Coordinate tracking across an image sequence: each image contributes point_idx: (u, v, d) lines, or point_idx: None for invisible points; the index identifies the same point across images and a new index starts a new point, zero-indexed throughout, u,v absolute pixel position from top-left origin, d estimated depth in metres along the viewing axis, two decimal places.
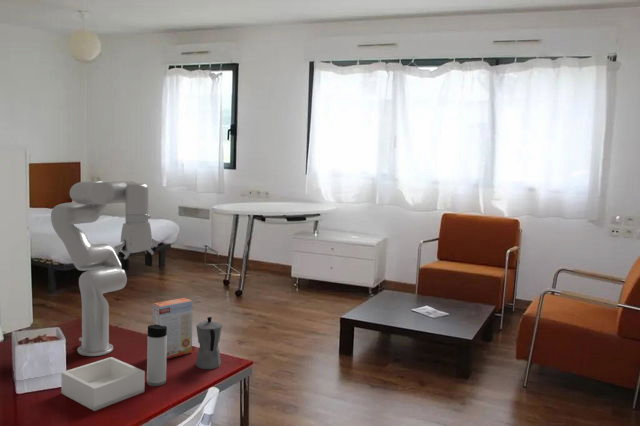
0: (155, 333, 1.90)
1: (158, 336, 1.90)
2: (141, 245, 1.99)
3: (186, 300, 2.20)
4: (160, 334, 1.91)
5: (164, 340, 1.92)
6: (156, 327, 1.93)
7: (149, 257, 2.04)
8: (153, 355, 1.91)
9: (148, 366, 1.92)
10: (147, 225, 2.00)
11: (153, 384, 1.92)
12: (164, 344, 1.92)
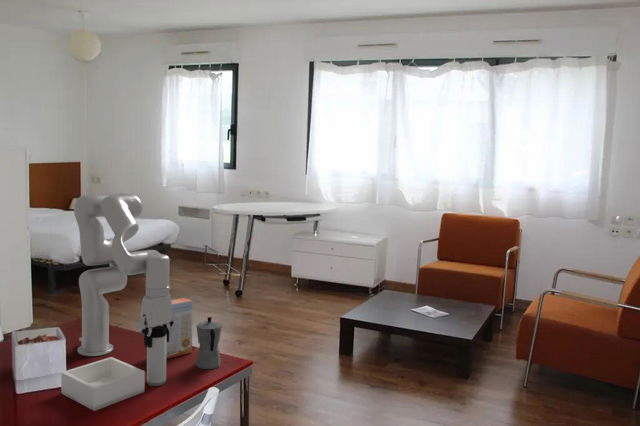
0: (155, 333, 1.90)
1: (158, 336, 1.90)
2: (161, 318, 1.91)
3: (186, 300, 2.20)
4: (160, 335, 1.91)
5: (164, 340, 1.92)
6: (156, 327, 1.93)
7: (166, 333, 1.95)
8: (153, 355, 1.91)
9: (148, 366, 1.92)
10: (168, 298, 1.92)
11: (153, 384, 1.92)
12: (164, 344, 1.92)
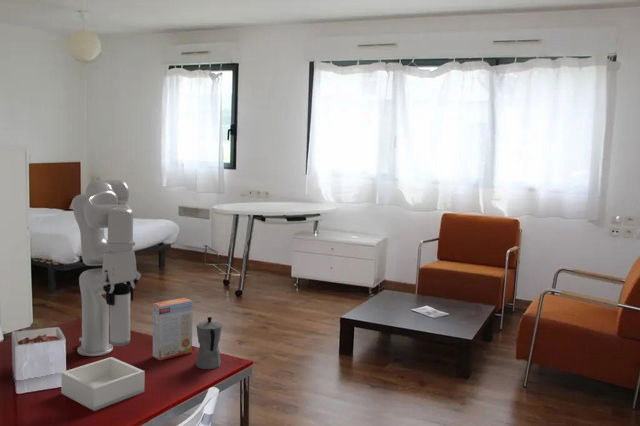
0: (117, 291, 1.81)
1: (121, 294, 1.82)
2: (124, 275, 1.82)
3: (186, 300, 2.20)
4: (123, 292, 1.82)
5: (127, 298, 1.83)
6: (119, 284, 1.84)
7: (130, 291, 1.86)
8: (115, 313, 1.82)
9: (111, 325, 1.84)
10: (131, 253, 1.84)
11: (116, 344, 1.84)
12: (127, 302, 1.84)
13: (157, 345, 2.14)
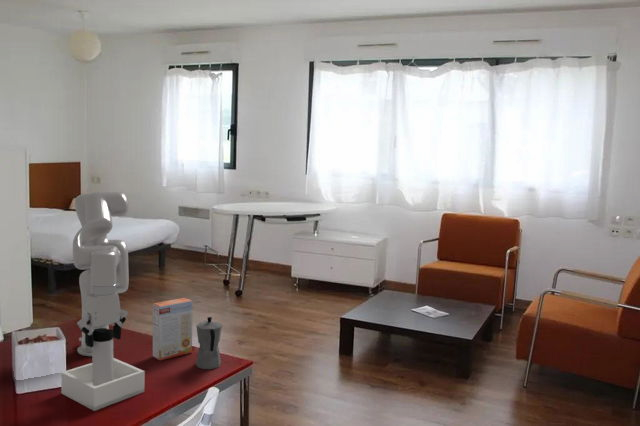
0: (99, 337, 1.80)
1: (103, 340, 1.81)
2: (108, 318, 1.81)
3: (186, 300, 2.20)
4: (106, 339, 1.81)
5: (110, 344, 1.82)
6: (102, 331, 1.84)
7: (117, 329, 1.86)
8: (98, 360, 1.81)
9: (93, 372, 1.83)
10: (115, 296, 1.83)
11: None
12: (110, 348, 1.83)
13: (157, 345, 2.14)
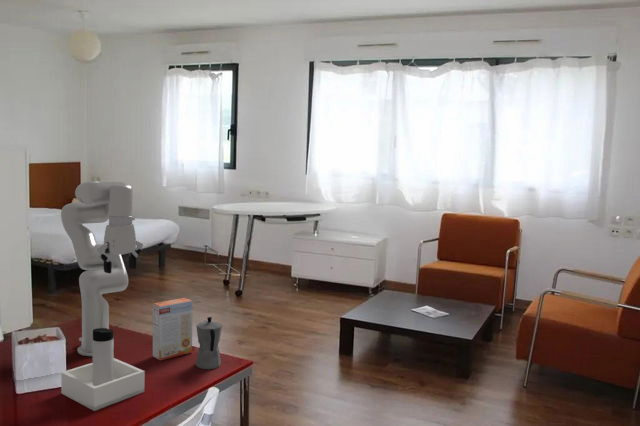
0: (100, 337, 1.81)
1: (103, 340, 1.81)
2: (124, 247, 1.95)
3: (186, 300, 2.20)
4: (106, 338, 1.81)
5: (110, 344, 1.83)
6: (102, 330, 1.84)
7: (133, 260, 2.00)
8: (98, 360, 1.81)
9: (93, 371, 1.83)
10: (131, 227, 1.96)
11: None
12: (110, 348, 1.83)
13: (157, 345, 2.14)
